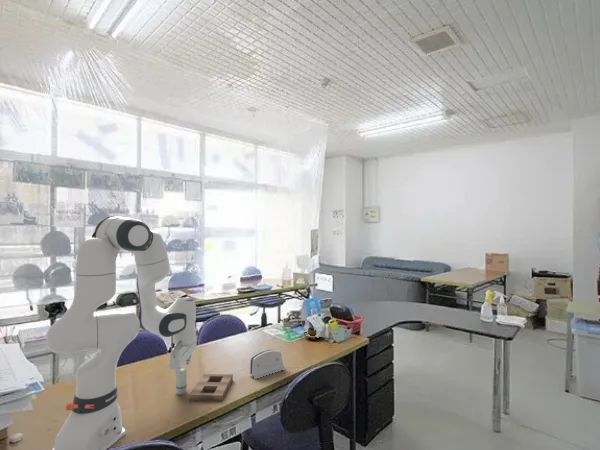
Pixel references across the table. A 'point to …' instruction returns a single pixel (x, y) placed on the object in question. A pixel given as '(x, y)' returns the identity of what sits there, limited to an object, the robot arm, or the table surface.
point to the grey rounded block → (266, 363)
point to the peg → (181, 383)
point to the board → (211, 387)
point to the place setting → (309, 331)
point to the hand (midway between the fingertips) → (183, 369)
